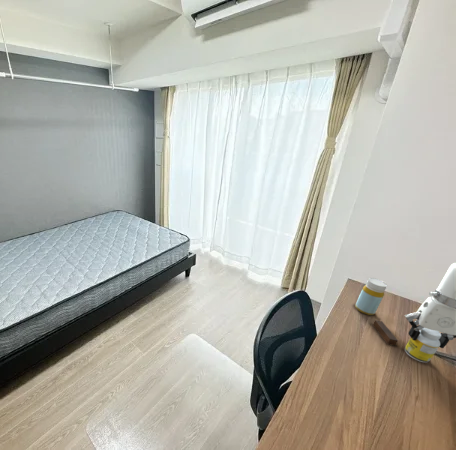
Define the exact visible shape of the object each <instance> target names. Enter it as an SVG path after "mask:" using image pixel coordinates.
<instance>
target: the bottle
mask: <svg viewBox="0 0 456 450" xmlns="http://www.w3.org/2000/svg"><path fill="white" fill-rule="evenodd" d="M387 287H388V284H387V283H386V282H385V281H383V280H381V279H378V278H375V277H369V278H367V281H366V284H365V285H364V286H363V287H362V289H361V291H360V293H359V296H358V298H357V300H356V302H355V305H354V306H355V309H356V310H357V311H358V312H360V313H361V314H364V315H367V316H373V315H375V314H376V312H377V311H378V308H379V306H380V304H381V302H382V300H383V298H384V296H385V291H386V289H387Z"/></svg>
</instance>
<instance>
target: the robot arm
mask: <svg viewBox="0 0 456 450" xmlns="http://www.w3.org/2000/svg"><path fill="white" fill-rule="evenodd" d="M428 295H429V297H427V298H426V299H425V300H424V301H423V303H422V304H421V305H420V306H419V308H418V309H417V311H416V312H412V313H408V314H405V315H404V318H405V319H406V320H407V322H408V323H409V325H410V326H411V328H409V330H408V335H409V337H410V339H411V338H412V340H414V341H415V340H416V339H417V338H418V336H419V334H420V330H421V329H423V328H427V329H431V330H435V331H438V332H440V333H441V337H440V339H438V340H439V341H440V346H439V348H440V349H445V346H447V344H448V343H449V342H450V341H453V340H454V339H456V262H453V263H452V264H451V265H450V266H449V267H448V269H447V271H446V273H445V274H444V276H443V278H442V280H441V281H440V282H439V285H438V287H437V288H436V289H435V290H434V291H429V293H428Z"/></svg>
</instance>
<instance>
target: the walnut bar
mask: <svg viewBox="0 0 456 450" xmlns="http://www.w3.org/2000/svg"><path fill="white" fill-rule="evenodd" d="M372 325H373V327H374V328H375V330H376V331H377V332H378V333H379V335H380V336H381V338H382V339H383V340H384V341H385V343H387V344H386V345H392V346H396V345H397V343H398V342H399V340H398V339H397V338H396V336H395V335H394V333H393V332H392V331H391V330H390V329H389V328H388V326H387V325H386V324H385V323H384V322H383V321H382V320H379V319H374V321H373V323H372Z"/></svg>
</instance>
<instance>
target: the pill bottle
mask: <svg viewBox="0 0 456 450" xmlns="http://www.w3.org/2000/svg"><path fill="white" fill-rule="evenodd" d="M419 331H420V334H419V336H418V338H417V339H416V340H415V341H414V340H412V338H411V337H410V339H409V340H408V341H407V344H406V345H405V347H404V351H405V353H406V354H407V355H408V356H409V357H410V358H412V359H413V360H415V361H417V362H420V363H425V364H426V363H429V362H430V361H431V360H432V359H433V357H434V356H435V354H436V353H437V351H438V349H439V348H440V347H439V346H440V341H439V340H438V339H440V337H441V333H442V332H438V331H435V330H431V329H427V328H423V329H421V330H419Z"/></svg>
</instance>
